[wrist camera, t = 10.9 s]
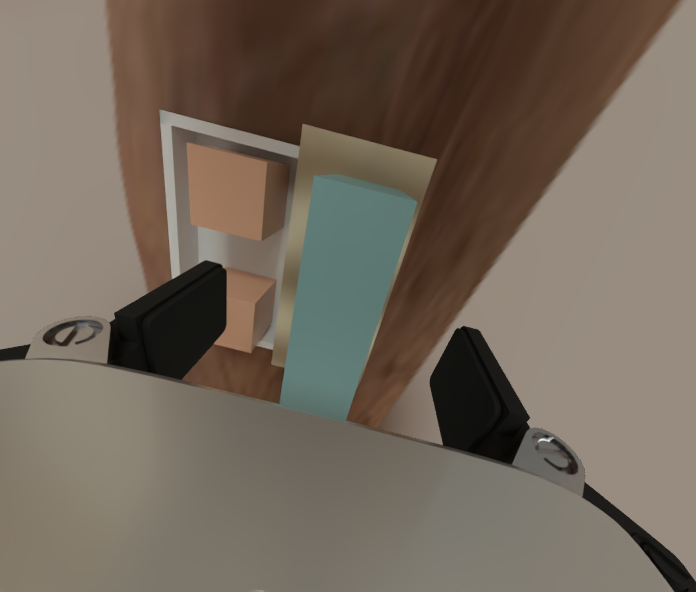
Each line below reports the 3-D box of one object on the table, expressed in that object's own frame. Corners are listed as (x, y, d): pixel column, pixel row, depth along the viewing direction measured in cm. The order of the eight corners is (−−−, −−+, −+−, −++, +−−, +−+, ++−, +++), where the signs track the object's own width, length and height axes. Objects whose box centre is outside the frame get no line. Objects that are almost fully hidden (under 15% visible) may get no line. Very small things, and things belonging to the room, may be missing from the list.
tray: (189, 118, 16) (159, 109, 14) (312, 150, 16) (302, 146, 14) (195, 310, 22) (175, 325, 20) (284, 332, 22) (274, 350, 20)
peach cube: (276, 279, 20) (225, 266, 20) (255, 303, 16) (192, 287, 16) (271, 322, 22) (224, 311, 22) (251, 353, 18) (194, 339, 18)
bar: (337, 174, 14) (314, 175, 9) (401, 190, 14) (417, 202, 9) (304, 349, 19) (277, 419, 14) (350, 361, 19) (341, 434, 14)
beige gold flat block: (315, 131, 16) (302, 124, 13) (426, 161, 16) (437, 159, 13) (283, 341, 23) (271, 364, 20) (361, 361, 23) (359, 386, 20)
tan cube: (290, 164, 16) (228, 149, 16) (266, 162, 13) (186, 142, 13) (283, 227, 18) (227, 213, 18) (261, 241, 14) (190, 224, 14)
